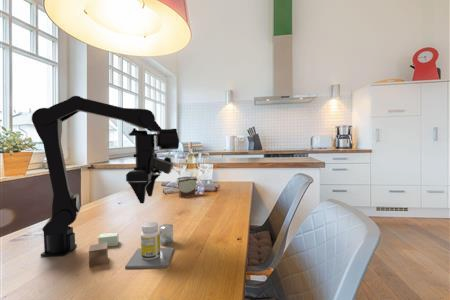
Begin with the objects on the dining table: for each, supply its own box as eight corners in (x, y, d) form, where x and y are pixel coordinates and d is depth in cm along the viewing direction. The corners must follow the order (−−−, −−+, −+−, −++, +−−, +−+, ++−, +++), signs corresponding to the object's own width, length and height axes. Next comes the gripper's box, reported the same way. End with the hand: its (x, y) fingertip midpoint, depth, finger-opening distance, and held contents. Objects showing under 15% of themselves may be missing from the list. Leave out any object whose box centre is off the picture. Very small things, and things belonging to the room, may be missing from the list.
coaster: (125, 268, 62) (125, 266, 61) (137, 250, 71) (137, 248, 71) (167, 267, 62) (167, 265, 62) (173, 249, 72) (173, 247, 72)
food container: (191, 193, 147) (191, 175, 146) (197, 194, 142) (197, 176, 142) (172, 196, 139) (171, 178, 139) (177, 198, 134) (177, 179, 134)
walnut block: (89, 267, 63) (88, 251, 62) (90, 260, 66) (90, 245, 66) (107, 264, 64) (106, 248, 64) (107, 257, 68) (107, 242, 68)
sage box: (98, 248, 74) (98, 237, 74) (100, 243, 77) (100, 234, 77) (117, 245, 75) (116, 235, 75) (118, 241, 78) (118, 232, 78)
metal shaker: (158, 245, 75) (157, 228, 74) (161, 240, 79) (160, 224, 78) (172, 245, 75) (171, 228, 75) (174, 240, 79) (173, 224, 79)
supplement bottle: (153, 250, 70) (152, 220, 70) (164, 255, 67) (163, 223, 67) (137, 256, 66) (136, 224, 66) (148, 262, 63) (147, 228, 63)
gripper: (165, 151, 71) (166, 206, 72) (175, 148, 90) (176, 192, 91) (124, 152, 71) (126, 207, 72) (143, 149, 89) (144, 193, 90)
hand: (146, 199), depth 81 cm, fingers open, 9 cm apart
